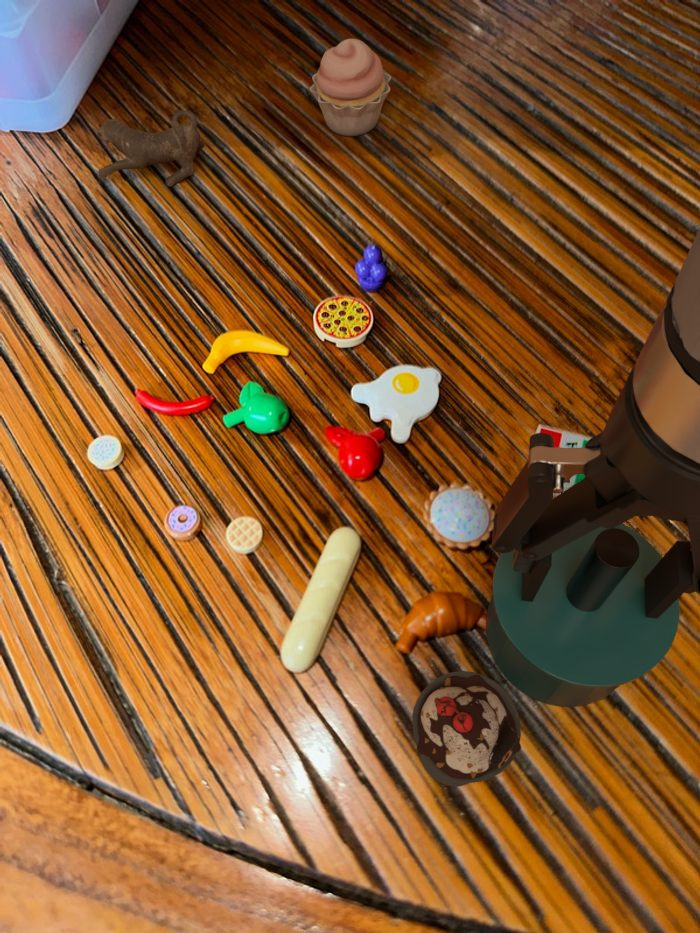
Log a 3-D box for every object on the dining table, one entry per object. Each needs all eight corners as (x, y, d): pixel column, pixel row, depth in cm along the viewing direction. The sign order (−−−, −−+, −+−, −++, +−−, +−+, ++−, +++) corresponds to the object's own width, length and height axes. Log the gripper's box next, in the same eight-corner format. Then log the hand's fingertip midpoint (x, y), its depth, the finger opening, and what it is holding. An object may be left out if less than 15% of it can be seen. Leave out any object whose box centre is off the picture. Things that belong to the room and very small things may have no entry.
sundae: (392, 724, 57) (396, 676, 44) (474, 691, 58) (501, 633, 45) (428, 814, 54) (443, 792, 41) (514, 777, 55) (556, 743, 42)
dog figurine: (211, 152, 89) (197, 93, 82) (206, 186, 86) (192, 129, 79) (109, 154, 89) (87, 97, 82) (101, 189, 86) (78, 132, 80)
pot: (631, 574, 62) (666, 531, 54) (635, 717, 56) (673, 692, 49) (490, 556, 63) (505, 512, 56) (480, 695, 58) (495, 666, 50)
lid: (670, 528, 55) (718, 468, 47) (679, 703, 49) (736, 668, 41) (496, 507, 56) (515, 445, 48) (484, 675, 51) (504, 635, 43)
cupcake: (301, 138, 89) (293, 57, 80) (327, 89, 93) (322, 7, 85) (377, 153, 87) (377, 72, 79) (400, 103, 92) (403, 20, 83)
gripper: (966, 352, 32) (740, 558, 52) (479, 306, 34) (443, 521, 54) (1012, 512, 28) (751, 667, 48) (466, 450, 30) (432, 623, 50)
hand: (588, 590), depth 51 cm, fingers open, 7 cm apart
